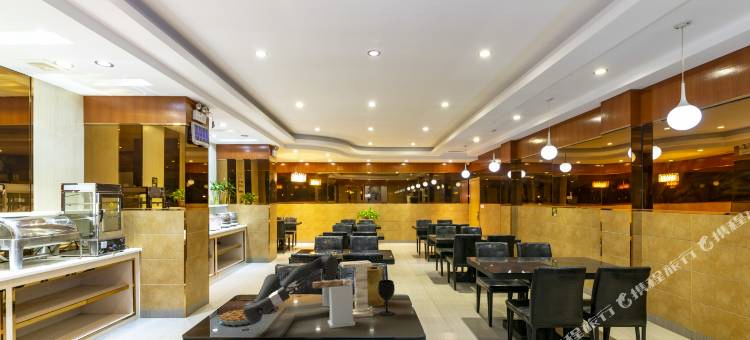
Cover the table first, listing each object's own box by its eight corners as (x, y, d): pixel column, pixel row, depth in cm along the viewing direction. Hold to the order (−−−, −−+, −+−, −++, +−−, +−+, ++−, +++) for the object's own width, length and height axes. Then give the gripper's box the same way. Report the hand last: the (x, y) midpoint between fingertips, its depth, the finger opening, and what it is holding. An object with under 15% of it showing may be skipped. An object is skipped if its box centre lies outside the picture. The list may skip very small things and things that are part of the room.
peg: (313, 288, 233) (313, 283, 233) (312, 286, 238) (312, 281, 238) (351, 285, 239) (351, 280, 239) (349, 283, 244) (349, 278, 244)
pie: (246, 313, 265) (246, 305, 265) (264, 320, 249) (264, 312, 249) (213, 321, 249) (213, 313, 249) (229, 329, 234) (229, 320, 234)
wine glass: (398, 313, 258) (397, 280, 259) (387, 317, 250) (386, 283, 251) (386, 310, 265) (385, 278, 266) (375, 314, 257) (374, 281, 258)
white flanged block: (327, 322, 242) (327, 284, 243) (351, 320, 246) (350, 282, 247) (331, 328, 232) (330, 288, 233) (355, 325, 236) (354, 286, 237)
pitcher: (388, 306, 272) (385, 267, 274) (360, 308, 272) (357, 269, 274) (388, 300, 289) (385, 264, 291) (361, 302, 289) (359, 266, 291)
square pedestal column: (340, 313, 260) (339, 261, 262) (368, 310, 265) (367, 260, 267) (344, 318, 249) (343, 265, 250) (373, 315, 254) (372, 263, 255)
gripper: (276, 293, 223) (303, 276, 227) (275, 288, 236) (300, 272, 241) (283, 305, 223) (309, 288, 228) (281, 299, 237) (306, 283, 241)
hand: (304, 280), depth 234 cm, fingers open, 8 cm apart
